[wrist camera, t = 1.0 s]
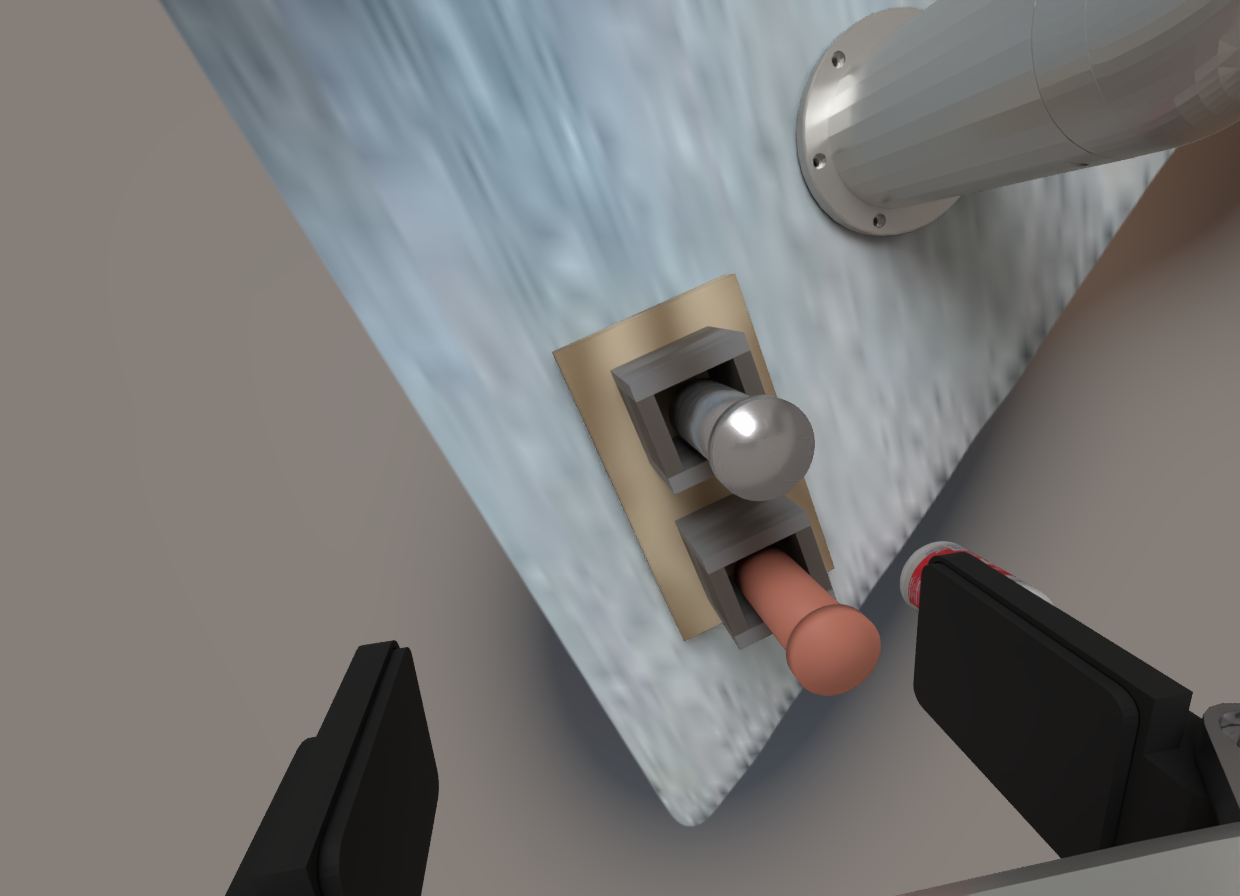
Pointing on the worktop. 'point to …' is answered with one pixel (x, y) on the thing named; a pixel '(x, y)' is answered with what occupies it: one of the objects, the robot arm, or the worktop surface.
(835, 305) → the worktop surface
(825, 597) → the red plug
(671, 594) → the board
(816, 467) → the worktop surface
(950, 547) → the pill bottle
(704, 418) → the grey plug
